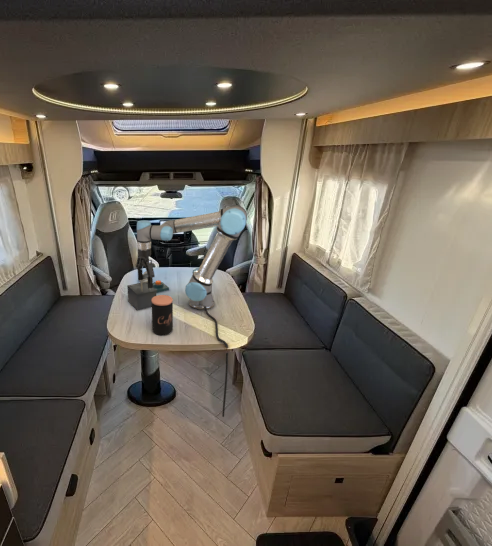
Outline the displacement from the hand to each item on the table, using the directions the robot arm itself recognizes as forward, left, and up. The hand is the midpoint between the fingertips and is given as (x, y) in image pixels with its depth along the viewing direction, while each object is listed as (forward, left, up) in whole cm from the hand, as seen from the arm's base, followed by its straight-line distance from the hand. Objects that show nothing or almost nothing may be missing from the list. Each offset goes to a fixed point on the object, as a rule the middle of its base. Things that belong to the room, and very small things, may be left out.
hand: (145, 283), depth 180 cm
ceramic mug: (+37, -17, -15) cm, 43 cm away
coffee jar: (-28, +4, -15) cm, 32 cm away
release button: (+21, -19, -12) cm, 30 cm away
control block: (+21, -19, -15) cm, 32 cm away
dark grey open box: (+6, 0, -15) cm, 16 cm away
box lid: (+5, 0, -5) cm, 7 cm away
